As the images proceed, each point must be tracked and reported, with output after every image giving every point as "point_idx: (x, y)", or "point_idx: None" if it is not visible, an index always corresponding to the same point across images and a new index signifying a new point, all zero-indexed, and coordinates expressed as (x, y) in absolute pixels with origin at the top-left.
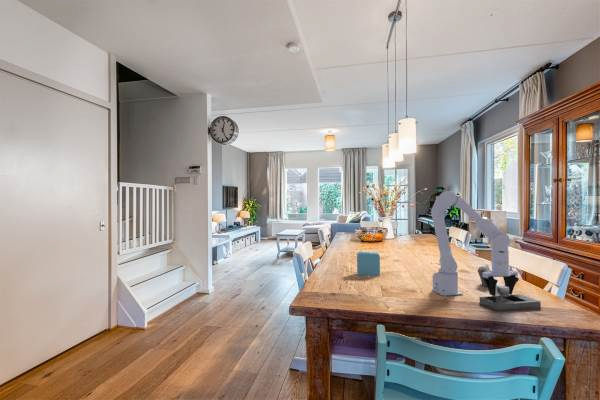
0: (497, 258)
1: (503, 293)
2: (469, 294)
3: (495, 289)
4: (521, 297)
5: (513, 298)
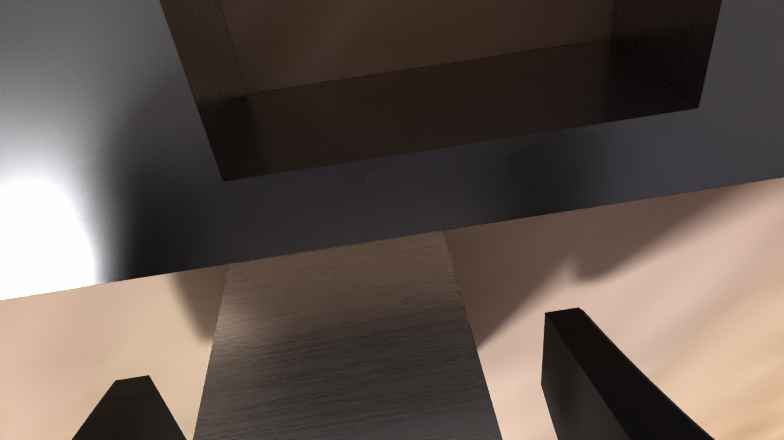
0: None
1: (378, 347)
2: (721, 425)
3: (631, 428)
4: (24, 24)
5: (244, 140)
